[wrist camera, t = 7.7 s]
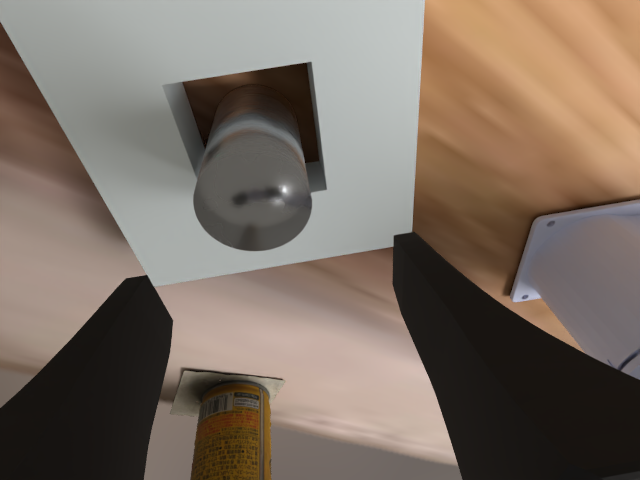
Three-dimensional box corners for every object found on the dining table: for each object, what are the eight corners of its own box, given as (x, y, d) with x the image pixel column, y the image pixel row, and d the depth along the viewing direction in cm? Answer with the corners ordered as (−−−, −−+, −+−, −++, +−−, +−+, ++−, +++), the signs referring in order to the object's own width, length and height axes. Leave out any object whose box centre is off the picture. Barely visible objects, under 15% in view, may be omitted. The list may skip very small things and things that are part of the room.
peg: (285, 74, 17) (296, 139, 11) (305, 153, 19) (322, 237, 14) (200, 97, 17) (171, 170, 11) (231, 172, 19) (220, 261, 14)
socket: (401, -100, 14) (430, -109, 11) (395, 212, 22) (411, 243, 20) (17, -43, 13) (-36, -41, 11) (165, 250, 22) (154, 286, 20)
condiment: (260, 418, 36) (260, 583, 27) (170, 412, 33) (134, 592, 24) (285, 377, 32) (295, 553, 23) (184, 366, 29) (149, 561, 20)
